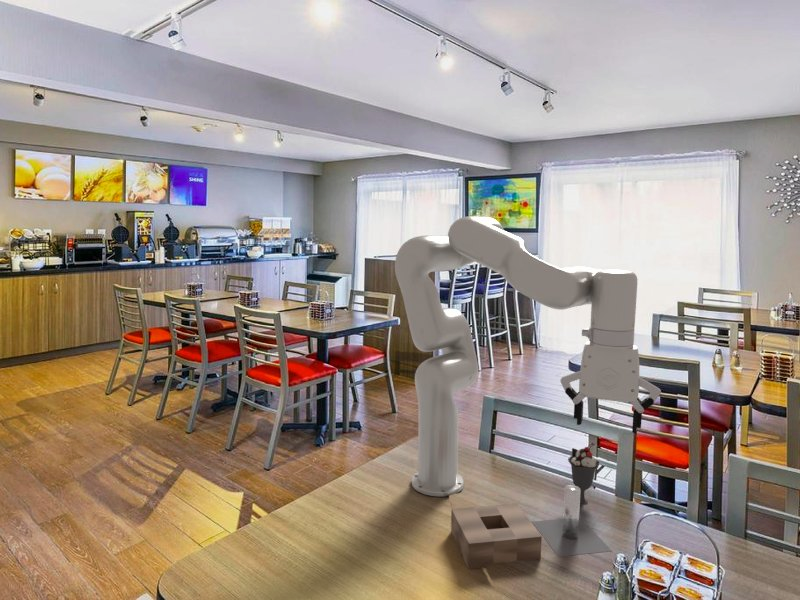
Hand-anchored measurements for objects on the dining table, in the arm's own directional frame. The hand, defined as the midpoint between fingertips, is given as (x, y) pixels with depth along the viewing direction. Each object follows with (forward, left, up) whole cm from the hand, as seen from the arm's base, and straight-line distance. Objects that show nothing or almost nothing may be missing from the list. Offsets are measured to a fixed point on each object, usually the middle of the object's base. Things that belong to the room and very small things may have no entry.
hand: (606, 426), depth 99 cm
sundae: (-16, +5, -25) cm, 30 cm away
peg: (-4, -4, -24) cm, 25 cm away
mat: (-4, -4, -25) cm, 25 cm away
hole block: (-4, -20, -25) cm, 32 cm away
